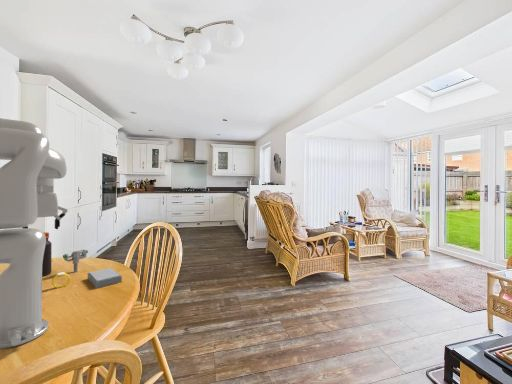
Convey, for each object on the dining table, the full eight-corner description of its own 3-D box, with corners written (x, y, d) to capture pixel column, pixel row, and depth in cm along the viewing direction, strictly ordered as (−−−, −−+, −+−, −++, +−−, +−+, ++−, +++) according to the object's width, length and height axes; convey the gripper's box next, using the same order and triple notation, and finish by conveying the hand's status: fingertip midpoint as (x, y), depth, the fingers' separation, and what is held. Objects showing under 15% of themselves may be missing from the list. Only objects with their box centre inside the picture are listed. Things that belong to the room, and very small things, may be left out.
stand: (121, 281, 109) (121, 275, 109) (96, 288, 102) (96, 281, 101) (111, 273, 118) (111, 267, 118) (87, 278, 111) (87, 272, 111)
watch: (52, 290, 99) (51, 276, 99) (52, 288, 101) (50, 274, 101) (70, 285, 104) (69, 272, 103) (69, 283, 106) (68, 270, 105)
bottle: (35, 273, 116) (35, 232, 115) (53, 271, 119) (53, 231, 118) (29, 278, 110) (29, 235, 109) (48, 276, 112) (48, 234, 112)
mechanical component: (62, 274, 115) (62, 254, 115) (85, 268, 124) (85, 249, 124) (65, 275, 114) (65, 255, 113) (88, 269, 123) (88, 250, 122)
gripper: (13, 190, 91) (13, 234, 92) (69, 190, 105) (69, 229, 105) (11, 189, 96) (12, 231, 97) (65, 189, 109) (65, 226, 110)
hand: (41, 230), depth 101 cm, fingers open, 9 cm apart
